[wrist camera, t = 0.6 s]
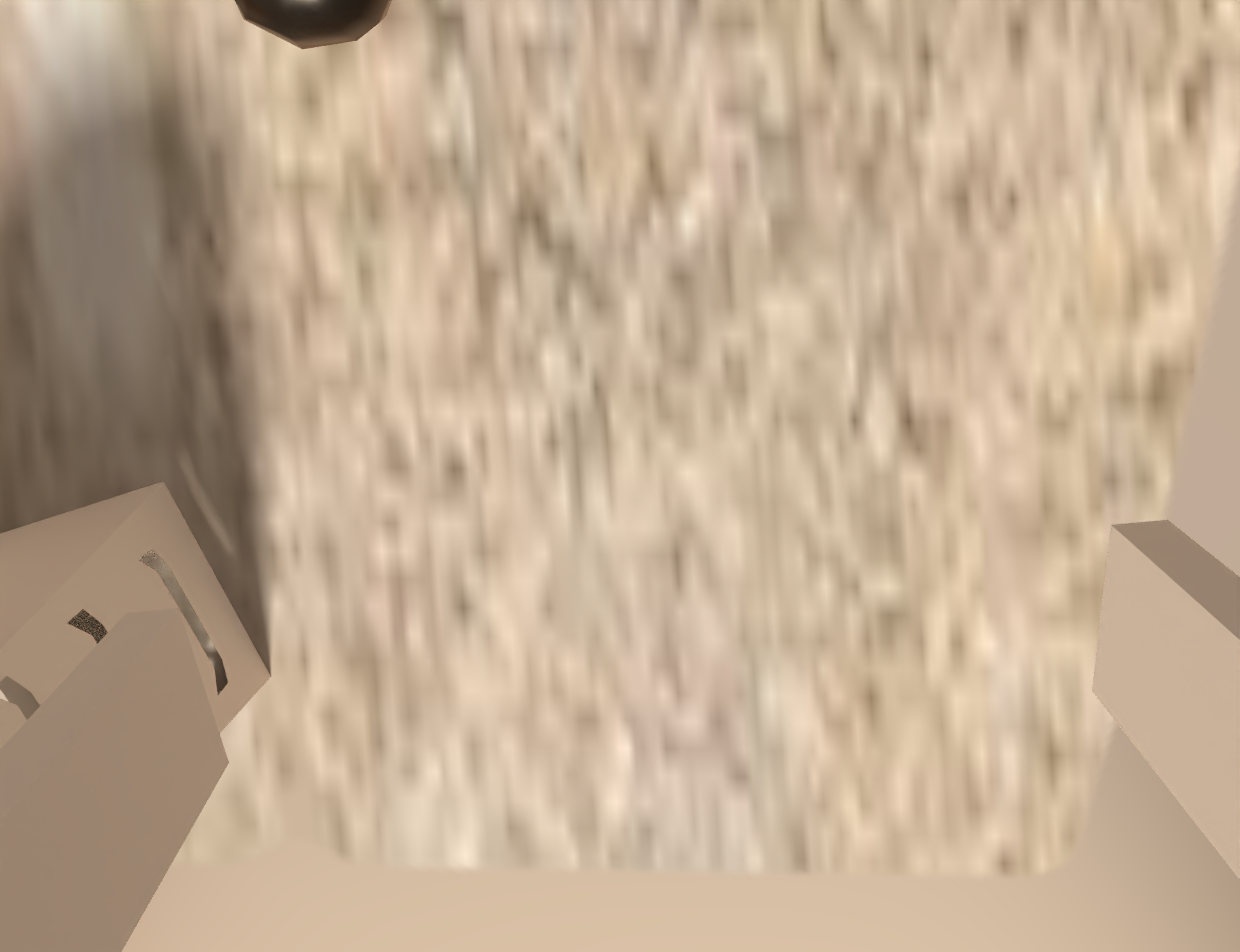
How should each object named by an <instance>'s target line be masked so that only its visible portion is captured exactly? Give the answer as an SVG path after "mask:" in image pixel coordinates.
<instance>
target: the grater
mask: <svg viewBox="0 0 1240 952" xmlns="http://www.w3.org/2000/svg"><path fill="white" fill-rule="evenodd" d="M150 549H152V550H153V551H154V552H155V553H156V554H157V555H158V556H159V557H161V558H162V559H163V560H164V561H165V562H166V563H167V564H168V566H169V567H170V569H171V571H172V573H173V574H174V576H175V578H176V580H177V581H178V583H179V585H180V587H181V588H182V590H183V592H184V594H185V595H186V597H187V599H188V601H189V602H190V604H191V606H192V608H193V610H194V611H195V613H196V615H197V617H198V618H199V620H200V622H201V624H202V625H203V627H204V629H205V631H206V632H207V634H208V636H209V638H210V639H211V641H212V643H213V645H214V646H215V648H216V650H217V652H218V653H219V655H220V657H221V659H222V661H223V665H224V669H225V673H226V677H227V680H228V683H227V685H226V686H225V687H224V689H223V690H222V691H219V692H217V686H216V677H215V669H214V667H213V666H212V664H211V662H210V660H209V659H208V657H207V655H206V653H205V652H204V650H203V648H202V646H201V645H200V643H199V641H198V640H197V638H196V636H195V634H194V633H193V631H192V629H191V627H190V626H189V624H188V622H187V620H186V619H185V617H184V615H183V614H182V612H181V611H180V609H179V611H180V614H181V617H182V620H183V623H184V626H185V629H186V632H187V635H188V638H189V641H190V644H191V648H192V651H193V654H194V657H195V660H196V663H197V666H198V669H199V672H200V675H201V678H202V681H203V685H204V688H205V691H206V694H207V697H208V700H209V703H210V706H211V709H212V712H213V715H214V718H215V721H216V725H217V728H218V731H219V734H220V732H221V731H222V730H223V729H224V728H225V727H226V726H227V725H228V724H229V722H230V721H231V720H232V719H233V718H234V717H235V716H236V715H237V714H238V712H239V711H240V710H241V709H242V708H243V707H244V706H245V705H246V704H247V702H248V701H249V700H250V699H251V698H252V697H253V696H254V695H255V694H256V693H257V691H258V690H259V689H260V688H261V687H262V686H263V685H264V684H265V683H266V681H267V680H268V679H269V678H270V677H271V676H270V674H269V672H268V670H267V668H266V667H265V665H264V663H263V661H262V659H261V658H260V656H259V654H258V652H257V650H256V649H255V647H254V645H253V643H252V641H251V639H250V638H249V636H248V634H247V632H246V630H245V629H244V627H243V625H242V623H241V621H240V620H239V618H238V616H237V614H236V612H235V610H234V609H233V607H232V605H231V603H230V601H229V600H228V598H227V596H226V594H225V592H224V591H223V589H222V587H221V585H220V583H219V581H218V580H217V578H216V576H215V574H214V572H213V571H212V569H211V567H210V565H209V563H208V562H207V560H206V558H205V556H204V554H203V552H202V551H201V549H200V547H199V545H198V543H197V542H196V540H195V538H194V536H193V534H192V533H191V531H190V529H189V527H188V525H187V523H186V522H185V520H184V518H183V516H182V514H181V513H180V511H179V509H178V507H177V505H176V504H175V502H174V500H173V498H172V496H171V495H170V493H169V491H168V489H167V487H166V485H165V484H164V482H160V483H157V484H154V485H151V486H147V487H144V488H141V489H138V490H135V491H132V492H129V493H125V494H122V495H119V496H116V497H113V498H110V499H107V500H103V501H100V502H97V503H94V504H91V505H88V506H85V507H82V508H78V509H75V510H72V511H69V512H66V513H63V514H60V515H56V516H53V517H50V518H47V519H44V520H41V521H38V522H34V523H31V524H28V525H25V526H22V527H19V528H16V529H13V530H9V531H6V532H3V533H0V689H1V691H2V692H3V694H4V695H5V696H6V698H7V699H8V701H9V702H7V701H5V700H2V699H0V749H1V748H2V747H3V746H4V745H5V744H6V743H7V742H8V741H9V739H10V738H11V737H12V736H13V735H14V734H15V733H16V732H17V731H18V730H19V729H20V728H21V726H22V725H23V724H24V723H25V722H26V721H27V720H28V719H29V718H30V717H31V716H32V714H33V713H34V712H35V711H36V710H37V709H38V708H39V707H40V706H41V705H42V704H43V703H44V701H45V700H46V699H47V698H48V697H49V696H50V695H51V694H52V693H53V692H54V691H55V689H56V688H57V687H58V686H59V685H60V684H61V683H62V682H63V681H64V680H65V679H66V678H67V676H68V675H69V674H70V673H71V672H72V671H73V670H74V669H75V668H76V667H77V666H78V665H79V663H80V662H81V661H82V660H83V659H84V658H85V657H86V656H87V655H88V654H89V653H90V651H91V650H92V649H93V648H94V647H95V646H96V645H97V643H96V641H95V639H94V638H93V636H92V635H91V634H89V633H87V632H84V631H82V630H80V629H78V628H76V627H74V626H72V625H69V624H67V623H68V622H69V621H70V620H71V619H72V618H73V617H74V616H76V615H77V614H78V613H79V612H80V611H81V610H82V609H84V610H85V611H86V612H88V613H89V614H90V615H91V616H93V617H94V618H95V619H96V620H98V621H99V622H100V623H101V624H103V626H104V627H105V629H106V631H107V632H109V631H110V630H111V629H112V628H113V626H114V625H115V624H116V623H117V622H118V621H119V620H120V619H121V618H122V617H123V616H124V615H125V613H128V612H140V611H151V610H162V609H173V608H179V607H178V606H177V604H176V602H175V601H174V599H173V597H172V596H171V594H170V592H169V591H168V589H167V587H166V586H165V584H164V582H163V581H162V579H161V577H160V576H159V574H158V573H157V571H156V570H154V569H152V568H151V567H149V566H147V565H145V564H144V563H142V562H140V561H139V559H140V558H141V557H143V556H144V555H145V554H146V553H147V552H148V551H149V550H150Z"/></svg>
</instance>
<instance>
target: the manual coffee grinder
mask: <svg viewBox="0 0 1240 952" xmlns="http://www.w3.org/2000/svg"><path fill="white" fill-rule="evenodd" d="M235 1H236V4H237V6H238V8H239V10H240V12H241V14H242V17H243V19H244V20H246V21H248V22H250V23H252V24H254V25H256V26H258V27H260V28H262V29H264V30H266V31H268V32H270V33H272V34H274V35H275V36H277V37H279V38H281V39H283V40H285V41H287V42H289V43H291V44H293V45H295V46H297V47H299V48H301V49H307V48H313V47H319V46H326V45H332V44H338V43H344V42H350V41H357V40H358V39H359V38H361V37H362V36H363V35H364V34H366V33H367V32H368V31H369V30H371V29H372V28H373V27H374V26H376V25H377V24H378V23H379V22H380V21H381V20H382V19H383V18H384V17H385V16H386V14H387V12H388V9H389V6H390V3H391V1H392V0H235Z"/></svg>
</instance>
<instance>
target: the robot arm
mask: <svg viewBox="0 0 1240 952" xmlns="http://www.w3.org/2000/svg"><path fill="white" fill-rule="evenodd" d="M1092 691H1093V693H1094V694H1095V695H1096V696H1097V698H1098V699H1099V700H1100V702H1101V703H1102V704H1103V705H1104V707H1105V708H1106V709H1107V711H1108V712H1109V713H1110V714H1111V716H1112V717H1113V718H1114V720H1115V721H1116V722H1117V723H1118V725H1119V726H1120V727H1121V728H1122V730H1123V731H1124V732H1125V733H1126V735H1127V736H1128V737H1129V739H1130V740H1131V741H1132V742H1133V744H1134V745H1135V746H1136V748H1137V749H1138V750H1139V752H1140V753H1141V754H1142V755H1143V757H1144V758H1145V759H1146V760H1147V762H1148V763H1149V764H1150V765H1151V767H1152V768H1153V769H1154V771H1155V772H1156V773H1157V775H1158V776H1159V777H1160V778H1161V780H1162V781H1163V782H1164V783H1165V785H1166V786H1167V787H1168V788H1169V790H1170V791H1171V792H1172V794H1173V795H1174V796H1175V798H1176V799H1177V800H1178V801H1179V802H1180V804H1181V805H1182V807H1183V808H1184V809H1185V810H1186V811H1187V813H1188V814H1189V815H1190V817H1191V818H1192V819H1193V821H1194V822H1195V823H1196V824H1197V826H1198V827H1199V828H1200V830H1201V831H1202V832H1203V833H1204V835H1205V836H1206V837H1207V838H1208V840H1209V841H1210V842H1211V844H1212V845H1213V846H1214V847H1215V849H1216V850H1217V851H1218V853H1219V854H1220V855H1221V856H1222V858H1223V859H1224V860H1225V862H1226V863H1227V864H1228V865H1229V867H1230V868H1231V869H1232V870H1233V872H1234V873H1235V874H1236V876H1237V877H1238V878H1239V880H1240V577H1239V576H1238V575H1236V574H1235V573H1234V572H1233V571H1231V570H1230V569H1228V568H1227V567H1226V566H1225V565H1224V564H1223V563H1221V562H1220V561H1219V560H1218V559H1216V558H1215V557H1214V556H1212V555H1211V554H1210V553H1209V552H1207V551H1206V550H1205V549H1204V548H1202V547H1201V546H1200V545H1199V544H1197V543H1196V542H1195V541H1194V540H1192V539H1191V538H1190V537H1189V536H1187V535H1186V534H1185V533H1184V532H1182V531H1181V530H1180V529H1178V528H1177V527H1176V526H1175V525H1173V524H1172V523H1171V522H1170V521H1168V520H1161V521H1150V522H1139V523H1128V524H1117V525H1111V532H1110V541H1109V549H1108V558H1107V566H1106V575H1105V584H1104V592H1103V601H1102V609H1101V618H1100V626H1099V635H1098V644H1097V652H1096V661H1095V669H1094V678H1093V686H1092ZM228 763H229V762H228V758H227V755H226V752H225V749H224V746H223V743H222V740H221V737H220V734H219V731H218V728H217V725H216V721H215V718H214V715H213V712H212V709H211V706H210V703H209V700H208V697H207V694H206V691H205V688H204V685H203V681H202V678H201V675H200V672H199V669H198V666H197V663H196V660H195V657H194V654H193V651H192V648H191V644H190V641H189V638H188V635H187V632H186V629H185V626H184V623H183V620H182V617H181V614H180V611H179V608H173V609H162V610H151V611H140V612H128V613H125V615H124V616H123V617H122V618H121V619H120V620H119V621H118V622H117V623H116V624H115V625H114V626H113V628H112V629H111V630H110V631H109V632H108V633H107V634H106V635H105V636H104V637H103V638H102V640H101V641H100V642H99V643H98V644H97V645H96V646H95V647H94V648H93V649H92V650H91V651H90V653H89V654H88V655H87V656H86V657H85V658H84V659H83V660H82V661H81V662H80V663H79V665H78V666H77V667H76V668H75V669H74V670H73V671H72V672H71V673H70V674H69V675H68V676H67V678H66V679H65V680H64V681H63V682H62V683H61V684H60V685H59V686H58V687H57V688H56V689H55V691H54V692H53V693H52V694H51V695H50V696H49V697H48V698H47V699H46V700H45V701H44V703H43V704H42V705H41V706H40V707H39V708H38V709H37V710H36V711H35V712H34V713H33V714H32V716H31V717H30V718H29V719H28V720H27V721H26V722H25V723H24V724H23V725H22V726H21V728H20V729H19V730H18V731H17V732H16V733H15V734H14V735H13V736H12V737H11V738H10V739H9V741H8V742H7V743H6V744H5V745H4V746H3V747H2V748H1V749H0V952H121V951H122V950H123V948H124V946H125V945H126V942H127V941H128V939H129V937H130V936H131V934H132V932H133V930H134V929H135V927H136V925H137V923H138V922H139V920H140V918H141V916H142V915H143V913H144V911H145V909H146V908H147V906H148V904H149V902H150V900H151V899H152V897H153V895H154V893H155V892H156V890H157V888H158V886H159V885H160V883H161V881H162V879H163V878H164V876H165V874H166V872H167V871H168V869H169V867H170V865H171V864H172V862H173V860H174V858H175V856H176V855H177V853H178V851H179V849H180V848H181V846H182V844H183V842H184V841H185V839H186V837H187V835H188V834H189V832H190V830H191V828H192V827H193V825H194V823H195V821H196V819H197V818H198V816H199V814H200V812H201V811H202V809H203V807H204V805H205V804H206V802H207V800H208V798H209V797H210V795H211V793H212V791H213V790H214V788H215V786H216V784H217V782H218V781H219V779H220V777H221V775H222V774H223V772H224V770H225V768H226V767H227V765H228Z"/></svg>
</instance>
